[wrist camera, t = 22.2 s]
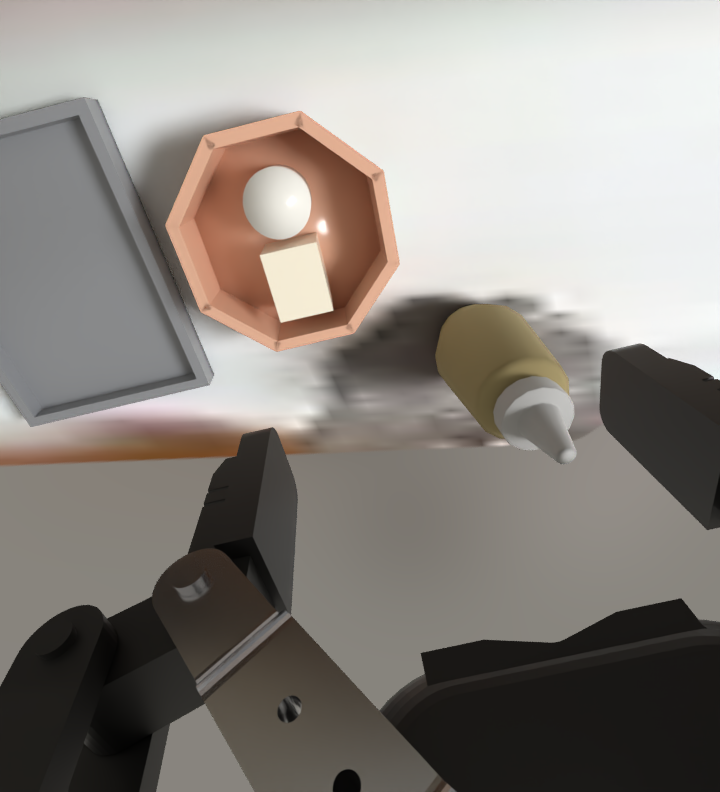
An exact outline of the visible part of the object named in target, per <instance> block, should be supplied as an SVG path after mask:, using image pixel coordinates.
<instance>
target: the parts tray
mask: <svg viewBox="0 0 720 792" xmlns="http://www.w3.org/2000/svg"><path fill="white" fill-rule="evenodd" d="M213 376H214V373H213V371H212V369H211V366H210V364H209V361H208V359H207V357H206V354H205V352H204V350H203V347H202V345H201V343H200V340H199V338H198V335H197V333H196V331H195V328H194V326H193V324H192V321H191V319H190V317H189V314H188V312H187V310H186V307H185V305H184V302H183V300H182V298H181V295H180V293H179V291H178V288H177V286H176V284H175V281H174V279H173V277H172V274H171V272H170V269H169V267H168V265H167V262H166V260H165V258H164V255H163V253H162V251H161V248H160V246H159V244H158V241H157V239H156V236H155V234H154V232H153V229H152V227H151V225H150V222H149V220H148V218H147V215H146V213H145V210H144V208H143V206H142V203H141V201H140V199H139V196H138V194H137V192H136V189H135V187H134V185H133V182H132V180H131V177H130V175H129V173H128V170H127V168H126V166H125V163H124V161H123V159H122V156H121V154H120V152H119V149H118V147H117V144H116V142H115V140H114V137H113V135H112V133H111V130H110V128H109V126H108V123H107V121H106V119H105V116H104V114H103V111H102V109H101V107H100V104H99V102H98V100H96V99H91V98H86V97H83V98H79V99H75V100H71V101H68V102H64V103H60V104H56V105H52V106H48V107H45V108H41V109H37V110H33V111H29V112H25V113H22V114H18V115H14V116H10V117H6V118H3V119H0V383H1V385H2V386H3V388H4V389H5V390H6V392H7V393H8V395H9V396H10V398H11V399H12V401H13V402H14V403H15V405H16V406H17V408H18V409H19V411H20V412H21V414H22V415H23V416H24V418H25V419H26V421H27V422H28V424H29V425H30V427H33V426H38V425H42V424H46V423H50V422H55V421H59V420H63V419H67V418H72V417H76V416H80V415H84V414H89V413H93V412H97V411H101V410H106V409H110V408H114V407H118V406H123V405H127V404H131V403H135V402H140V401H144V400H148V399H152V398H157V397H161V396H165V395H169V394H174V393H178V392H182V391H186V390H191V389H195V388H199V387H203V386H208V385H210V383H211V381H212V378H213Z"/></svg>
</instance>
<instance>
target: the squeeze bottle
mask: <svg viewBox="0 0 720 792" xmlns="http://www.w3.org/2000/svg"><path fill="white" fill-rule="evenodd" d="M435 358H436V363H437V368H438V373H439V374H440V375H441V377H442V378H443V379H444V381H445V382H446V383H447V385H448V386H449V387H450V388H451V390H452V391H453V392H454V393H455V395H456V396H457V397H458V398H459V399H460V401H461V402H462V403H463V404H464V406H465V407H466V408H467V409H468V411H469V412H470V413H471V414H472V416H473V417H474V418H475V419H476V420H477V422H478V423H479V424H480V425H481V427H482V428H483V429H484V430H485V432H488V433H490V434H492V435H494V436H496V437H498V438H501V439H506V441H507V442H508V443H509V444H510V445H512V446H514V447H516V448H518V449H522V450H536V449H541V450H542V451H543V452H545V453H546V454H547V455H549V456H550V457H551V458H553V459H554V460H555V461H557V462H558V463H560V464H567V463H570V462H571V461H573V460H574V459H575V457H576V454H577V452H576V449H575V447H574V445H573V442H572V440H571V437H570V435H569V433H568V429H569V428H570V425H571V423H572V420H573V418H574V403H573V402H572V400H571V398H570V397H569V380H568V377H567V376H566V374H565V372H564V371H563V369H562V367H561V366H560V364H559V363H558V362H557V360H556V359H555V358H554V357H553V355H552V354H551V353H550V351H549V350H548V349H547V347H546V346H545V345H544V344H543V342H542V341H541V340H540V338H539V337H538V336H537V335H536V333H535V332H534V331H533V329H532V328H531V327H530V326H529V324H528V323H527V322H526V320H525V319H524V318H523V317H522V315H520V314H518V313H517V312H515V311H514V310H512V309H510V308H509V307H507V306H500V305H491V304H473V305H469V306H465V307H462V308H460V309H458V310H457V311H455V312H454V313H453V314H451V315H450V316H449V317H448V318H447V320H446V321H445V323H444V324H443V326H442V327H441V332H440V336H439V340H438V345H437V350H436V354H435Z"/></svg>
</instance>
